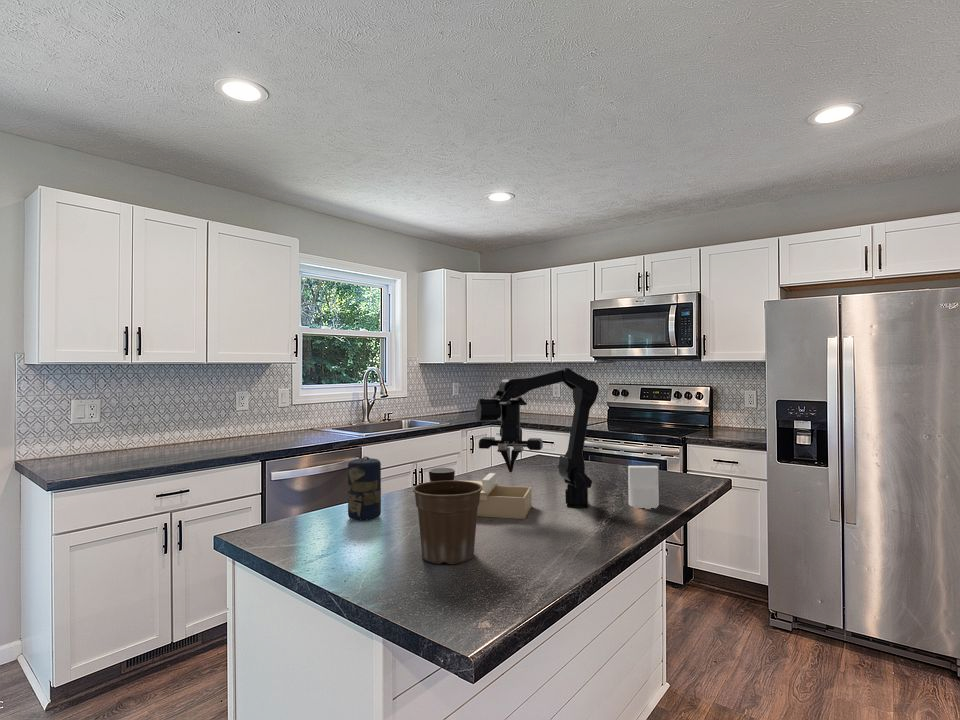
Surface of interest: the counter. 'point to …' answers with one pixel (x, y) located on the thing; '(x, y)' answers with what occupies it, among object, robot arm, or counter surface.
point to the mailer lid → (486, 485)
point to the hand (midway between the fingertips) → (510, 472)
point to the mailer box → (506, 502)
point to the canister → (364, 489)
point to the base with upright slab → (643, 486)
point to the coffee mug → (441, 474)
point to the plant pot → (447, 519)
